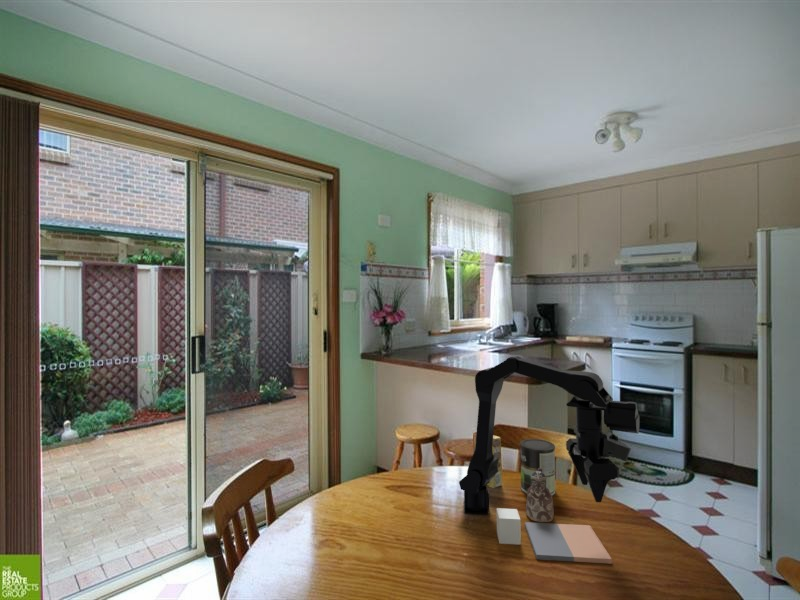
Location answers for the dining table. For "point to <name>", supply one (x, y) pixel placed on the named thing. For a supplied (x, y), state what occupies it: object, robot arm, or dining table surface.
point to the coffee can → (537, 462)
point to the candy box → (496, 452)
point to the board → (566, 543)
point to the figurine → (539, 499)
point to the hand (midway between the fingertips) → (591, 492)
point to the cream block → (508, 526)
